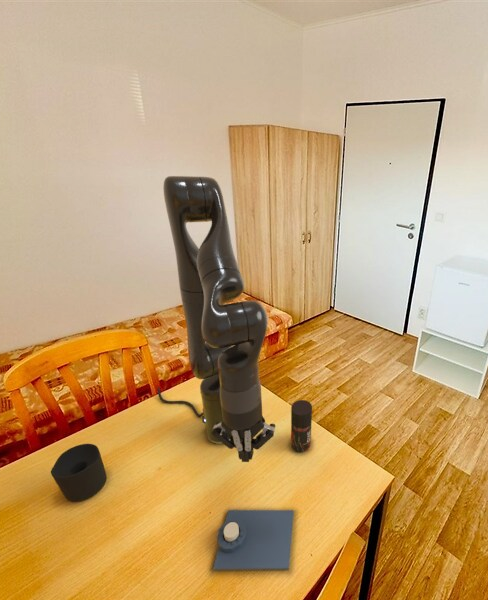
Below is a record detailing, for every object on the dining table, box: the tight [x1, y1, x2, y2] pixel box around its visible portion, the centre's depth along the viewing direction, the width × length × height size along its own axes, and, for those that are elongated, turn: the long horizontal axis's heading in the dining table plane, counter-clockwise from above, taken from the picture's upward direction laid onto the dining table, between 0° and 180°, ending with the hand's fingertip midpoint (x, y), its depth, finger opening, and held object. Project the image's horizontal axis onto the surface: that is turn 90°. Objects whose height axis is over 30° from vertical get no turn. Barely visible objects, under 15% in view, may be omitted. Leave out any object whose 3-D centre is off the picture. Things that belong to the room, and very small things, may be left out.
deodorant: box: [290, 399, 313, 453], centre depth 94 cm, size 6×6×15 cm
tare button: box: [224, 522, 239, 542], centre depth 71 cm, size 3×3×2 cm
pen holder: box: [50, 443, 108, 503], centre depth 79 cm, size 9×9×10 cm
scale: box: [212, 509, 294, 572], centre depth 72 cm, size 17×12×2 cm
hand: (246, 458), depth 68 cm, fingers closed
